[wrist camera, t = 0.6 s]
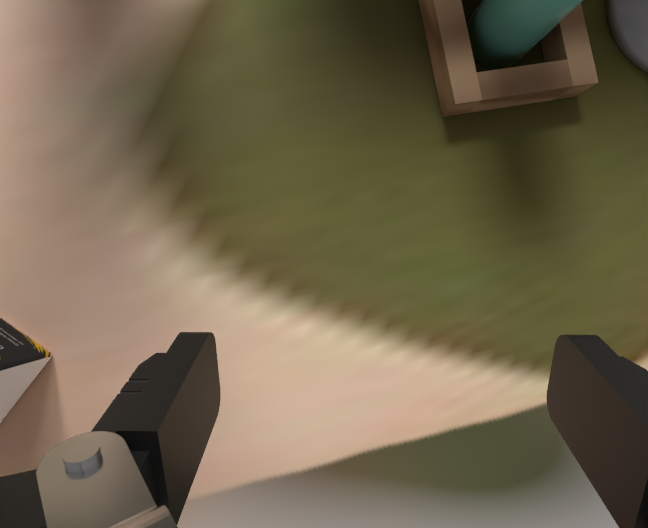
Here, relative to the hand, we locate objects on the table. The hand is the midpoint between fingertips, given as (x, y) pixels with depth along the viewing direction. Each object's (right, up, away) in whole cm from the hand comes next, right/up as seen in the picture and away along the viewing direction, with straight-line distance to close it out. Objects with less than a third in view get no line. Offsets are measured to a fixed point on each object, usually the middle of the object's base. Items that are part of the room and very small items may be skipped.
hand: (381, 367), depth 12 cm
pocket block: (+12, +20, +26) cm, 35 cm away
